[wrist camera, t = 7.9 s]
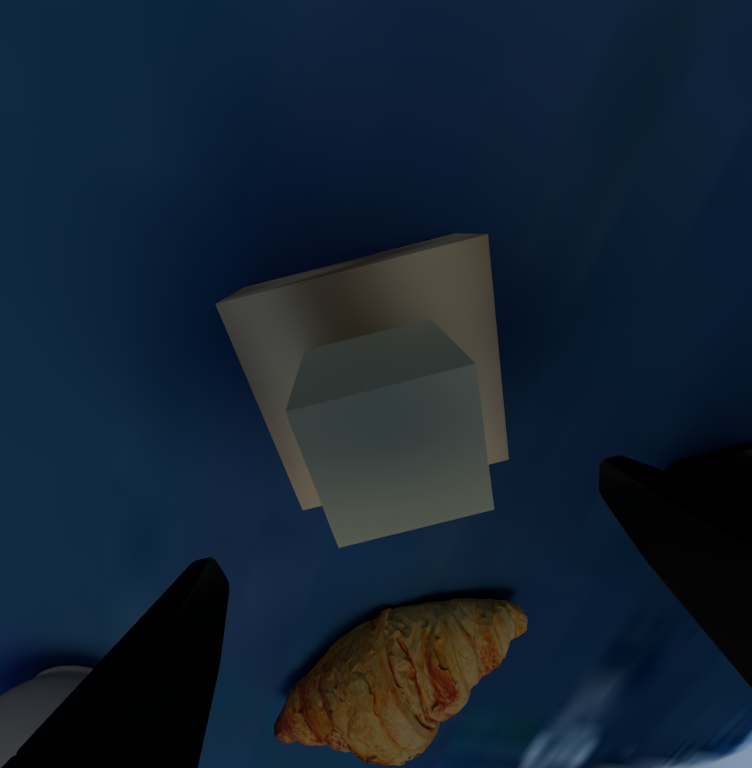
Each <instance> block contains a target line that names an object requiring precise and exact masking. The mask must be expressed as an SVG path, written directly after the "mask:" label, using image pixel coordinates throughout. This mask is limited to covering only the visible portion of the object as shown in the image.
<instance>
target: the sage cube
mask: <svg viewBox="0 0 752 768" xmlns="http://www.w3.org/2000/svg"><path fill="white" fill-rule="evenodd" d="M285 413H286V415H287V418H288V421H289V423H290V426H291V428H292V431H293V433H294V436H295V438H296V441H297V443H298V446H299V448H300V451H301V453H302V456H303V459H304V461H305V464H306V466H307V469H308V471H309V474H310V476H311V479H312V481H313V484H314V486H315V489H316V491H317V494H318V497H319V499H320V502H321V504H322V507H323V509H324V512H325V514H326V517H327V519H328V522H329V524H330V527H331V529H332V532H333V535H334V537H335V540H336V542H337V545H338V547H339V548H340V547H344V546H348V545H352V544H356V543H360V542H364V541H368V540H373V539H377V538H381V537H385V536H389V535H393V534H397V533H401V532H405V531H409V530H413V529H417V528H421V527H425V526H429V525H433V524H437V523H441V522H445V521H450V520H454V519H458V518H462V517H466V516H470V515H474V514H478V513H482V512H486V511H490V510H494V504H493V496H492V488H491V480H490V472H489V464H488V456H487V448H486V440H485V432H484V424H483V416H482V408H481V400H480V392H479V384H478V376H477V368H476V363H475V362H474V361H473V360H472V359H471V358H470V357H469V356H468V355H467V354H466V353H465V352H464V351H463V350H462V349H461V348H460V347H459V346H458V345H457V344H456V343H455V342H454V341H453V340H452V339H451V338H450V337H449V336H448V335H447V334H446V333H445V332H444V331H443V330H442V329H441V328H440V327H439V326H438V325H437V324H436V323H435V322H434V321H433V320H432V319H427V320H423V321H419V322H415V323H411V324H407V325H403V326H399V327H395V328H391V329H388V330H384V331H380V332H376V333H372V334H368V335H364V336H360V337H356V338H352V339H348V340H345V341H341V342H337V343H333V344H329V345H325V346H321V347H317V348H313V349H309V350H305V351H304V354H303V357H302V360H301V363H300V366H299V370H298V373H297V376H296V379H295V382H294V386H293V389H292V392H291V395H290V398H289V401H288V405H287V408H286V411H285Z"/></svg>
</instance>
